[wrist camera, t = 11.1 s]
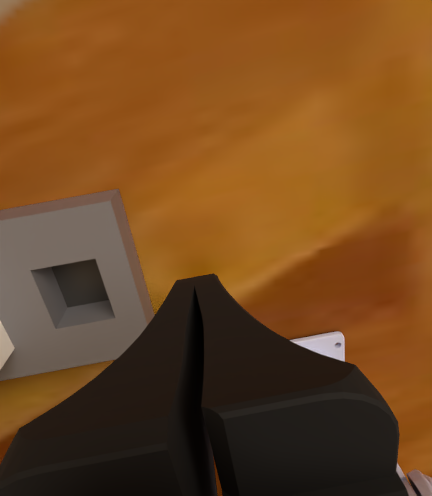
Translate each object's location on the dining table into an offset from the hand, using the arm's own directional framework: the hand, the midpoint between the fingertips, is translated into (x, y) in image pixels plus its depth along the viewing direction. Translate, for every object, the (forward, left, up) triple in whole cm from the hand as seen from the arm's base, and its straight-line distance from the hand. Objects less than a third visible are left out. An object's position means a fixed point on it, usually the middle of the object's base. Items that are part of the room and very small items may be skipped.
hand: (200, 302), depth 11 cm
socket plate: (-3, +11, -10) cm, 15 cm away
